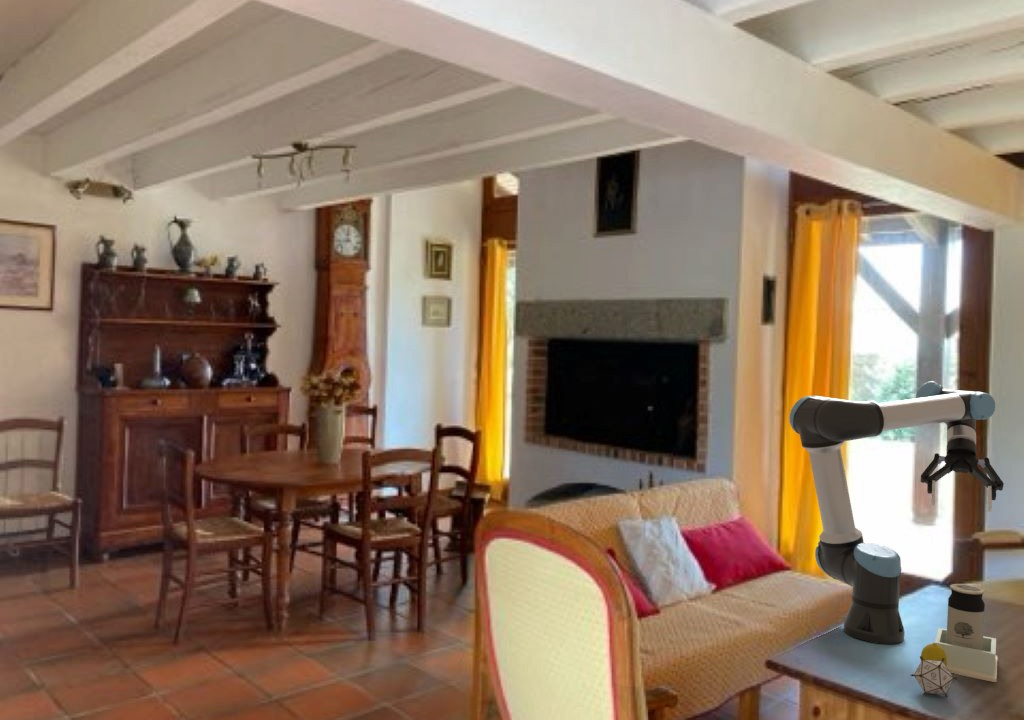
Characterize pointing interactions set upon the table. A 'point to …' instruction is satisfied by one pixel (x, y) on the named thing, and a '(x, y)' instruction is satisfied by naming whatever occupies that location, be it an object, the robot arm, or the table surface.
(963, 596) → the travel mug
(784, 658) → the table surface
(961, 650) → the holder
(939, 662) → the game die
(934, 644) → the lemon
